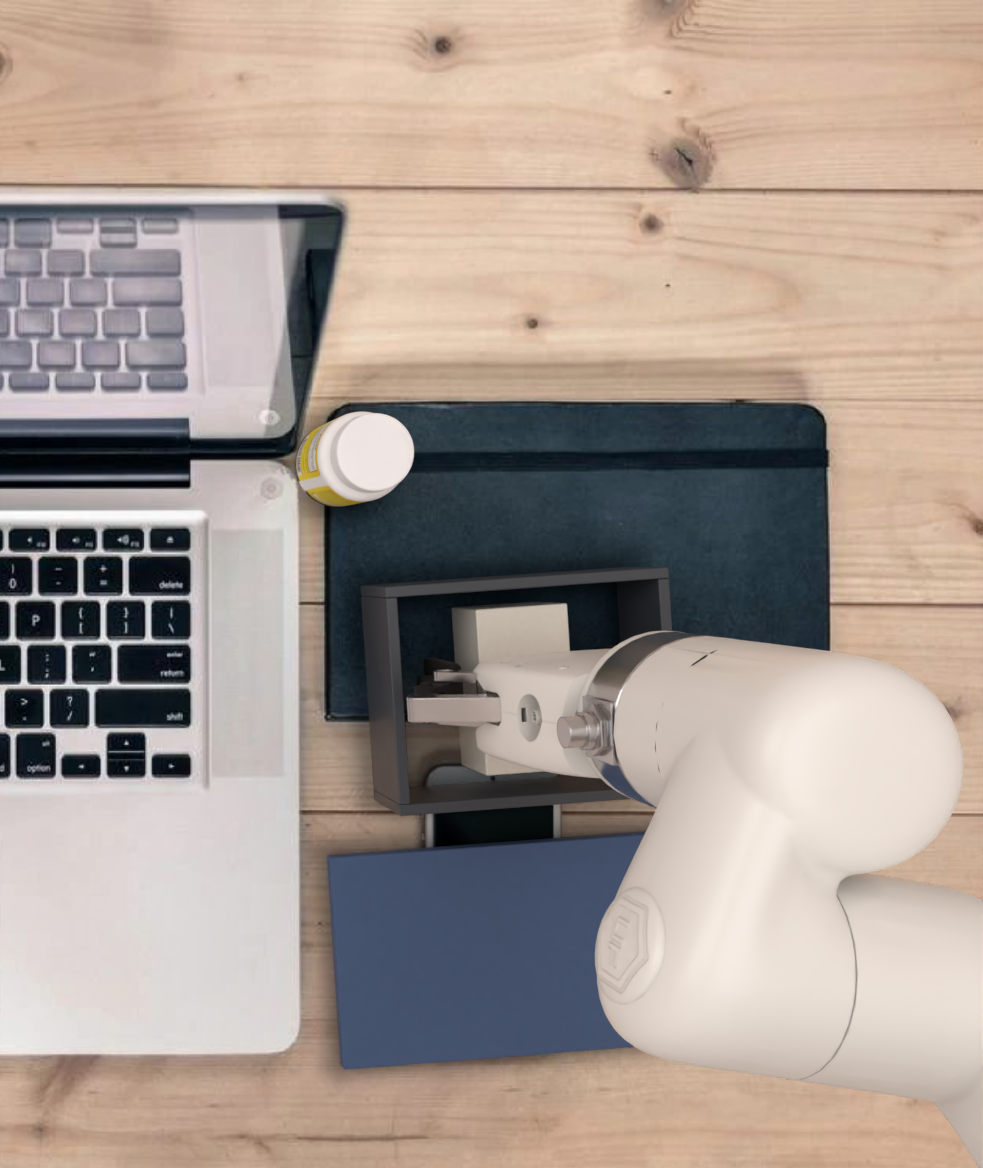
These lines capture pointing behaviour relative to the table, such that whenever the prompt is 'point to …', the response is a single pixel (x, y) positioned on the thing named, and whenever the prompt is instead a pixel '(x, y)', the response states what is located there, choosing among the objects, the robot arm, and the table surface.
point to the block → (503, 656)
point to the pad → (473, 949)
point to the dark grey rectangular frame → (638, 613)
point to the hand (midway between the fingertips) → (518, 680)
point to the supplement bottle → (354, 459)
